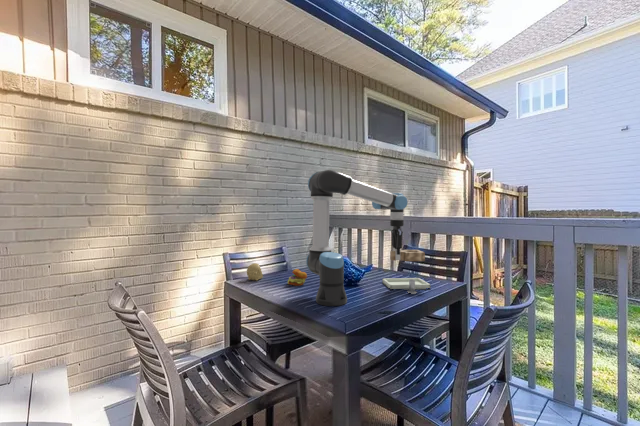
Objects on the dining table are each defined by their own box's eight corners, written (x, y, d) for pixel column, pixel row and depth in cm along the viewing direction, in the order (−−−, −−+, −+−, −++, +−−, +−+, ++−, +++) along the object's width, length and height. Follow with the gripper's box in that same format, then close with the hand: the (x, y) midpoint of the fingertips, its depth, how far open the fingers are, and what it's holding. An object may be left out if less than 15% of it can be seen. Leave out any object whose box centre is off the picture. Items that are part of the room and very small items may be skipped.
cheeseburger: (286, 282, 198) (290, 266, 198) (303, 286, 199) (307, 270, 200) (287, 286, 188) (291, 269, 188) (304, 290, 189) (308, 273, 190)
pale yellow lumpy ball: (262, 286, 204) (267, 272, 212) (257, 274, 196) (262, 260, 204) (247, 284, 207) (253, 271, 214) (242, 273, 199) (248, 259, 206)
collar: (393, 261, 184) (393, 252, 184) (388, 258, 195) (388, 250, 195) (424, 261, 185) (424, 252, 185) (417, 258, 196) (417, 249, 196)
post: (409, 294, 172) (409, 281, 172) (405, 291, 177) (405, 279, 177) (418, 294, 172) (418, 281, 172) (414, 291, 177) (414, 278, 177)
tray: (390, 289, 181) (390, 285, 181) (382, 282, 198) (382, 278, 198) (430, 289, 183) (430, 284, 183) (419, 282, 200) (419, 278, 200)
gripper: (408, 220, 181) (407, 261, 182) (398, 218, 198) (398, 257, 198) (394, 220, 181) (394, 261, 181) (386, 218, 197) (386, 257, 198)
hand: (396, 259), depth 190 cm, fingers closed on collar, 3 cm apart
